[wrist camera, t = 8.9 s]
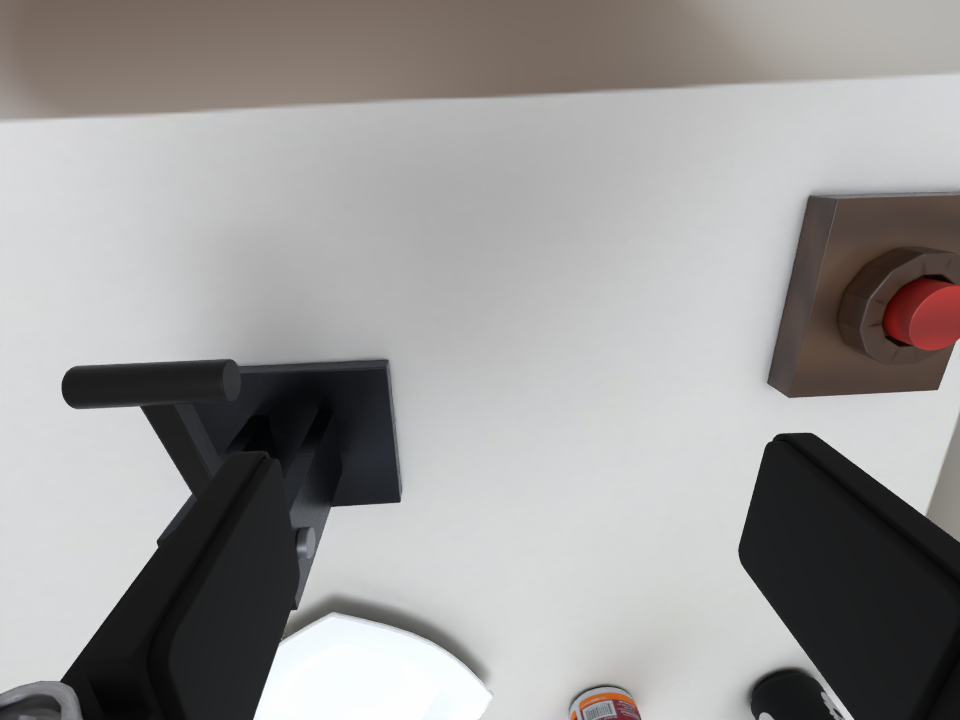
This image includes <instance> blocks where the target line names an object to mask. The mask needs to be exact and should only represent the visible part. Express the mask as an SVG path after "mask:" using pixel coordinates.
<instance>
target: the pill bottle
mask: <svg viewBox="0 0 960 720" xmlns="http://www.w3.org/2000/svg"><path fill="white" fill-rule="evenodd" d="M569 719H570V720H641V717H640V714H639V712H638V709H637V706H636V704H635V702H634V700H633V698H632V697H631V696H630V695H629V694H628V693H627V692H625V691H623V690H621V689H618V688H613V687H602V688H596V689H592V690H590V691H587V692H585V693H584V694H582V695H581V696H580V697H578V698H577V699H576V701H575V702H574V703H573V705H572V707H571V709H570V713H569Z"/></svg>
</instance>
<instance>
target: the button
mask: <svg viewBox="0 0 960 720" xmlns="http://www.w3.org/2000/svg"><path fill="white" fill-rule="evenodd" d="M883 326H884V329H885V331H886V332H887V333H888V335H889V336H891V337H892V338H894V339H897V340H899V341H902V342H904V343H907V344H910V345H912V346H915V347H917V348H920V349H923V350H938V349H942V348H945V347H947V346H949V345H951V344H953V343H954V342H956V341H957V340H958V339H960V286H959V285H955V284H951V283H947V282H942V281H938V280H934V279H927V278H925V279H918V280H915V281H912V282H910V283H908V284H906V285H904V286H903V287H902V288H900V289H899V290H898V291H897V292H896V294H895V295H894V296H893V297H892V298H891V299H890V301H889V302H888V303H887V305H886V309H885V312H884V315H883Z"/></svg>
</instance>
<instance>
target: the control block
mask: <svg viewBox="0 0 960 720" xmlns="http://www.w3.org/2000/svg"><path fill="white" fill-rule="evenodd" d="M925 278H927V279H934V280H938V281H942V282H947V283H951V284H955V285H959V286H960V192H930V193H895V194H860V195H825V196H810V197H809V201H808V206H807V210H806V215H805V219H804V224H803V228H802V233H801V237H800V241H799V246H798V250H797V255H796V259H795V264H794V268H793V273H792V277H791V282H790V286H789V291H788V295H787V300H786V304H785V309H784V313H783V317H782V322H781V326H780V331H779V335H778V340H777V344H776V349H775V353H774V358H773V362H772V367H771V371H770V376H769V380H768V384H769V385H771V386H772V387H774V388H775V389H777V390H778V391H779V392H781V393H782V394H784V395H785V396H787V397H788V398H796V397H815V396H834V395H853V394H872V393H891V392H910V391H929V390H938V388H939V386H940V383H941V380H942V377H943V375H944V372H945V369H946V367H947V364H948V361H949V359H950V356H951V353H952V351H953V348H954V345H955V343H956V342H954V343H953V344H951V345H949V346H947V347H945V348H942V349H938V350H923V349H920V348H917V347H915V346H912V345H910V344H907V343H904V342H902V341H899V340H897V339H894V338H892V337H891V336H889V335H888V333H887V332H886V331H885V329H884V326H883V315H884V312H885V309H886V305H887V303H888V302H889V301H890V299H891V298H892V297H893V296H894V295H895V294H896V292H897V291H898V290H899V289H900V288H902V287H903V286H904V285H906V284H908V283H910V282H912V281H915V280H918V279H925Z"/></svg>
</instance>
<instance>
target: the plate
mask: <svg viewBox="0 0 960 720" xmlns="http://www.w3.org/2000/svg"><path fill="white" fill-rule="evenodd" d="M492 697H493V692H492V691H491V690H490V689H489V688H488V687H487V686H486V685H485V684H484V683H483V682H482V681H481V680H480V679H479V678H478V677H477V676H476V675H475V674H474V673H473V672H472V671H471V670H470V669H469V668H468V667H467V666H466V665H465V664H464V663H462V662H461V661H460V660H459V659H457V658H456V657H455V656H454V655H452V654H451V653H450V652H449V651H447V650H445V649H444V648H442V647H440V646H439V645H437V644H435V643H434V642H432V641H430V640H428V639H425V638H423V637H421V636H419V635H416V634H414V633H412V632H409V631H406V630H403V629H399V628H396V627H393V626H390V625H387V624H383V623H379V622H375V621H371V620H366V619H362V618H358V617H354V616H349V615H345V614H340V613H336V612H331V613H330V614H328V615H326V616H324V617H322V618H320V619H318V620H316V621H314V622H313V623H311V624H309V625H307V626H306V627H304V628H302V629H301V630H299V631H297V632H296V633H294V634H292V635H291V636H289V637H287V638H286V639H285V640H283V641H282V642H280V643H279V646H278V649H277V652H276V655H275V658H274V661H273V663H272V666H271V669H270V672H269V675H268V678H267V681H266V684H265V687H264V690H263V693H262V696H261V699H260V701H259V704H258V707H257V710H256V713H255V716H254V719H253V720H478V719H479V718H480V716H481V715H482V713H483V712H484V710H485V709H486V707H487V705H488V704H489V702H490V700H491V699H492Z"/></svg>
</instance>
